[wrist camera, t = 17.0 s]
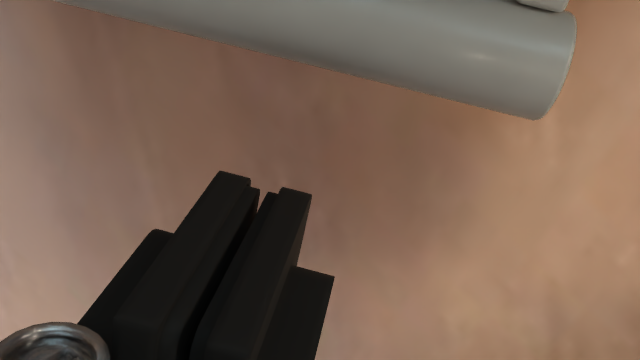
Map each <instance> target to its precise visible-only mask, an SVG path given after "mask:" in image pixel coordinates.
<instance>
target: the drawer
mask: <svg viewBox="0 0 640 360" xmlns="http://www.w3.org/2000/svg"><path fill="white" fill-rule="evenodd" d="M52 1H56V2H60V3H64V4H68V5H72V6H76V7H80V8H84V9H88V10H92V11H96V12H100V13H104V14H108V15H112V16H116V17H120V18H124V19H128V20H132V21H136V22H140V23H144V24H148V25H152V26H156V27H160V28H164V29H168V30H172V31H176V32H180V33H184V34H188V35H192V36H196V37H200V38H204V39H208V40H212V41H216V42H220V43H224V44H228V45H232V46H236V47H240V48H244V49H248V50H252V51H256V52H260V53H264V54H268V55H272V56H276V57H280V58H284V59H288V60H292V61H296V62H300V63H304V64H308V65H312V66H316V67H320V68H324V69H328V70H333V71H337V72H341V73H345V74H349V75H353V76H357V77H361V78H365V79H369V80H373V81H377V82H381V83H385V84H389V85H393V86H397V87H401V88H405V89H409V90H413V91H417V92H421V93H425V94H429V95H433V96H437V97H441V98H445V99H449V100H453V101H457V102H461V103H465V104H469V105H473V106H477V107H481V108H485V109H489V110H493V111H497V112H501V113H505V114H509V115H513V116H517V117H521V118H525V119H529V120H539V119H541V118H543V117H544V116H545V115H546V113H547V112H548V111H549V110H550V108H551V107H552V105H553V104H554V102H555V100H556V99H557V97H558V95H559V93H560V91H561V89H562V86H563V84H564V82H565V79H566V76H567V74H568V71H569V68H570V64H571V61H572V57H573V53H574V49H575V43H576V33H577V23H576V18H575V16H574V15H573V14H571V13H570V12H568V11H564V9H565V8H566V7H567V4H568V2H569V0H52Z"/></svg>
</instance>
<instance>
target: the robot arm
mask: <svg viewBox="0 0 640 360" xmlns="http://www.w3.org/2000/svg"><path fill="white" fill-rule="evenodd" d="M259 196H260V189H257V188H253V187H251V180H250V178H247V177H243V176H239V175H235V174H232V173H228V172H224V171H219V172H218V173H217V174H216V176H215V177H214V178H213V180H212V181H211V183H210V184H209V185H208V187H207V188H206V190H205V191H204V192H203V194H202V195H201V196H200V198H199V199H198V201H197V202H196V203H195V205H194V206H193V208H192V209H191V210H190V212H189V213H188V215H187V216H186V217H185V219H184V220H183V221H182V223H181V224H180V226H179V227H178V228H177V230H176V231H175V233H170V232H167V231H163V230H159V229H154V230H152V231H151V232H150V233H149V234H148V235H147V236H146V238H145V239H144V240H143V241H142V243H141V244H140V245H139V246H138V248H137V249H136V250H135V252H134V253H133V254H132V255H131V257H130V258H129V259H128V260H127V262H126V263H125V264H124V265H123V267H122V268H121V269H120V270H119V272H118V273H117V274H116V276H115V277H114V278H113V279H112V281H111V282H110V283H109V284H108V286H107V287H106V288H105V289H104V291H103V292H102V293H101V294H100V296H99V297H98V298H97V300H96V301H95V302H94V303H93V305H92V306H91V307H90V308H89V310H88V311H87V312H86V313H85V315H84V316H83V317H82V319H81V320H80V321H79V322H78V324H74V323H70V322H48V323H42V324H36V325H32V326H29V327H27V328H24V329H21V330H19V331H16V332H15V333H13V334H11V335H10V336H8V337H7V338H5V339H4V340H2V341H1V342H0V360H315V355H316V351H317V347H318V343H319V339H320V335H321V331H322V327H323V323H324V319H325V315H326V310H327V306H328V302H329V298H330V294H331V290H332V286H333V282H334V276H330V275H327V274H323V273H319V272H316V271H312V270H308V269H304V268H301V267H297V262H298V257H299V253H300V249H301V244H302V240H303V235H304V231H305V226H306V222H307V217H308V213H309V208H310V204H311V199H312V194H308V193H304V192H300V191H297V190H293V189H289V188H285V187H282V188H281V189H280V191H279V193H278V194H276V193H272V192H268V193H267V194H266V196H265V198H264V200H263V202H262V204H261V206H260V208H259V210H258V212H257V208H258V202H259ZM256 213H257V214H256Z"/></svg>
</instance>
